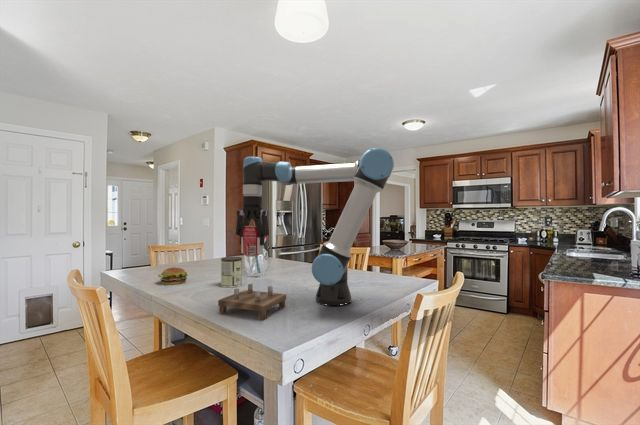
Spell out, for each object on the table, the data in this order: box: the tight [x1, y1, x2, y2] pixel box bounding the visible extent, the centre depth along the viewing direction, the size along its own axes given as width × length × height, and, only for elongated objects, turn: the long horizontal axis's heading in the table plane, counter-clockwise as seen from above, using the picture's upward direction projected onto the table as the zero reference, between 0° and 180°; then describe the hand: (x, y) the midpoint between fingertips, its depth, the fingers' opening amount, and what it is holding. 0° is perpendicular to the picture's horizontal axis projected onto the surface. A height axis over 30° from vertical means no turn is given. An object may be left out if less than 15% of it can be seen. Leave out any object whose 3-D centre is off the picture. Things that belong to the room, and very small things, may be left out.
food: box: [157, 266, 188, 286], centre depth 164 cm, size 14×14×8 cm
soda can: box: [242, 225, 260, 258], centre depth 124 cm, size 7×7×12 cm
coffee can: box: [220, 256, 243, 289], centre depth 159 cm, size 10×10×14 cm
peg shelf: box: [217, 283, 287, 321], centre depth 117 cm, size 19×17×8 cm
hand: (252, 253), depth 124 cm, fingers closed on soda can, 7 cm apart
